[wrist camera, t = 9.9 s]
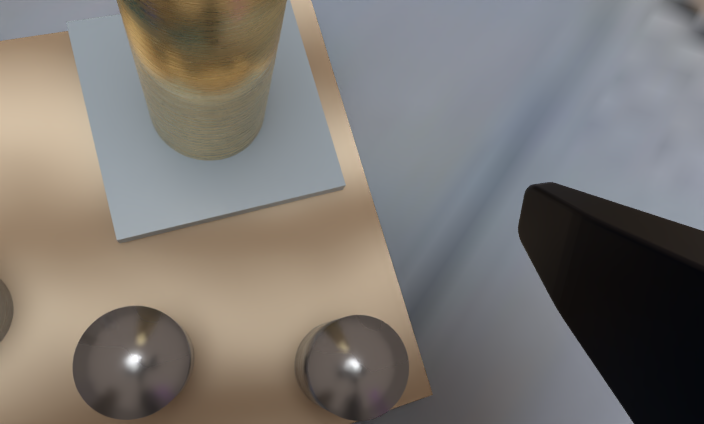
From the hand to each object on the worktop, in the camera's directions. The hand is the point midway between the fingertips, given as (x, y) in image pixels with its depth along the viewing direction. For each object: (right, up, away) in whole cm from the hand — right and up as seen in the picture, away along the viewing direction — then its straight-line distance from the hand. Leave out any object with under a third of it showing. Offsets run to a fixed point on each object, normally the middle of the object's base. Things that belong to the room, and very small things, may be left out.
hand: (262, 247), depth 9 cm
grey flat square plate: (-4, +4, +14) cm, 15 cm away
